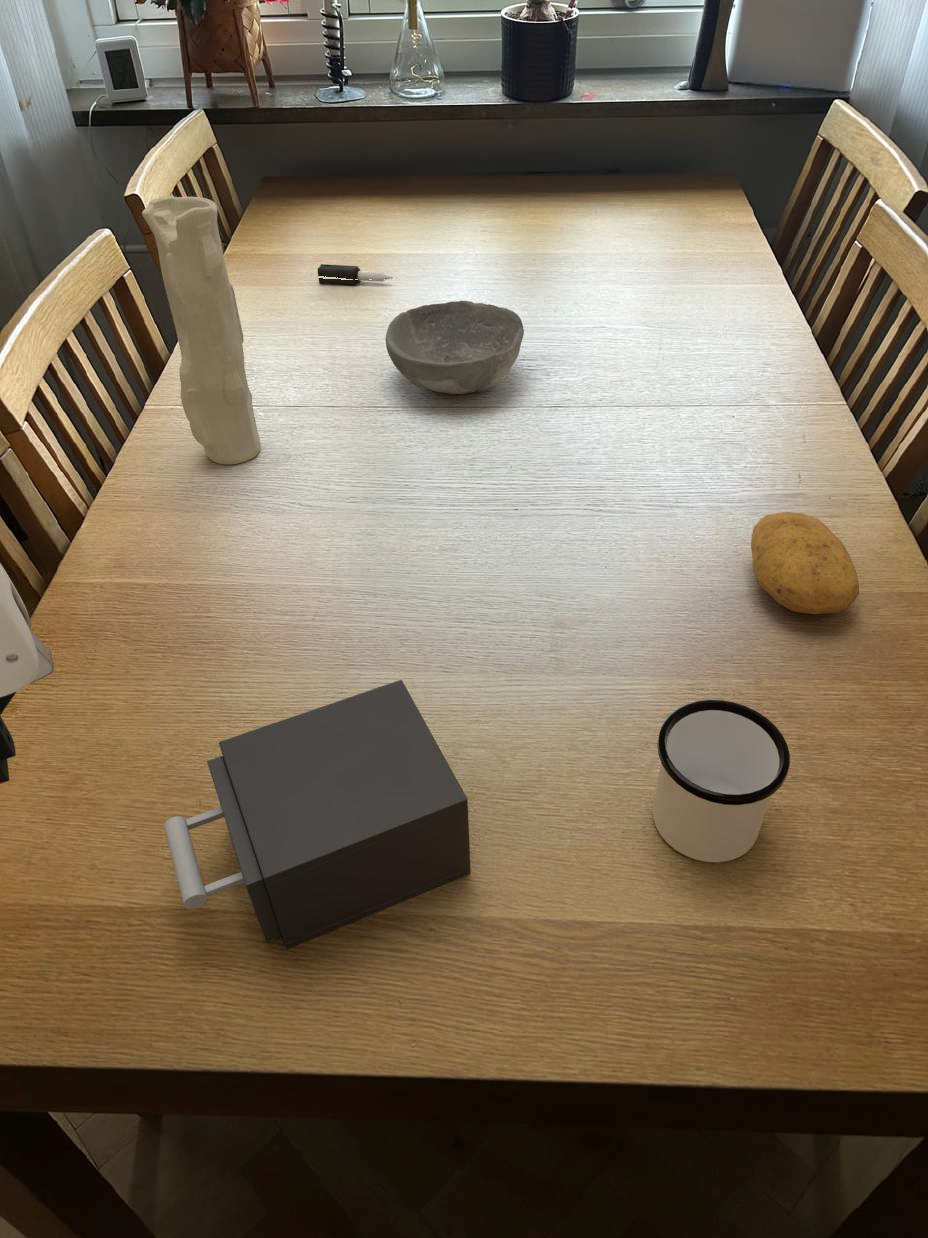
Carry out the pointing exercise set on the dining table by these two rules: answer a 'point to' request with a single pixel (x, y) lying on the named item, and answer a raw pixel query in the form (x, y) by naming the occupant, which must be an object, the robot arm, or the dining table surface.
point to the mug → (716, 778)
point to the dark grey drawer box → (348, 810)
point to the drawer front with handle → (250, 871)
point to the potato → (803, 564)
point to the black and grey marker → (348, 274)
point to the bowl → (455, 345)
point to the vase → (205, 327)
